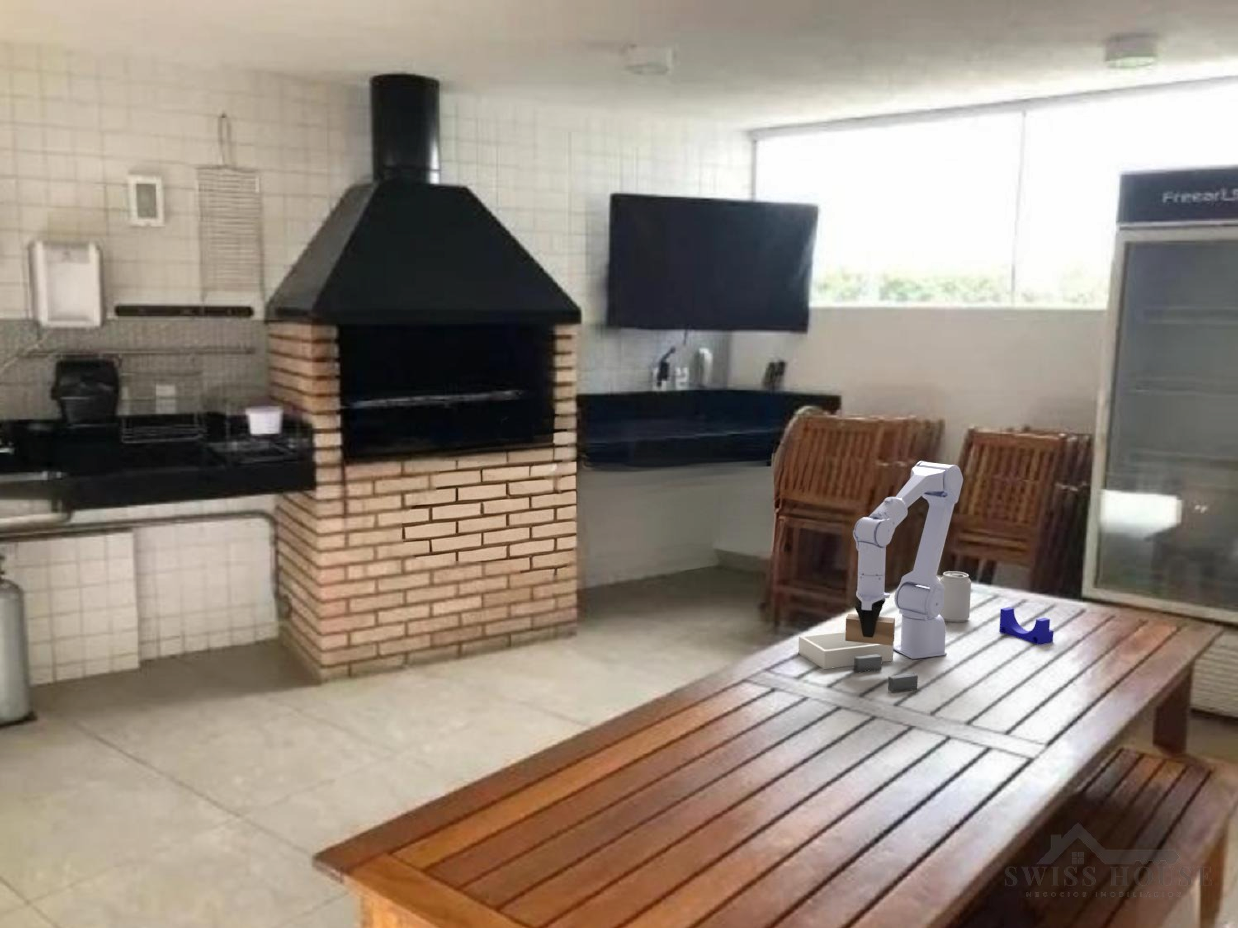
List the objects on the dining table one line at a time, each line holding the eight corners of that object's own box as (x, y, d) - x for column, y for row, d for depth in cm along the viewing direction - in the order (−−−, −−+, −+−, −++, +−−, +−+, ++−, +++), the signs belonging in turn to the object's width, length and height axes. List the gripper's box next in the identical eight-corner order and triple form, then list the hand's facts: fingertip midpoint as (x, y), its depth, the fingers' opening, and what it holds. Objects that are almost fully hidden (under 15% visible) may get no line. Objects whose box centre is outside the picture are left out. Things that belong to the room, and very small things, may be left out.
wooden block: (847, 635, 232) (848, 613, 231) (894, 640, 229) (895, 617, 228) (845, 640, 228) (845, 618, 228) (892, 645, 225) (893, 623, 224)
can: (973, 623, 264) (975, 577, 262) (943, 623, 264) (945, 576, 263) (964, 614, 271) (966, 569, 270) (935, 614, 272) (937, 569, 270)
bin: (864, 645, 247) (865, 628, 246) (893, 660, 236) (893, 643, 235) (798, 652, 241) (798, 636, 240) (824, 668, 230) (824, 651, 230)
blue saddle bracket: (1052, 642, 249) (1054, 618, 248) (1039, 645, 247) (1041, 621, 246) (1012, 629, 259) (1013, 606, 259) (999, 632, 257) (1000, 608, 256)
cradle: (877, 666, 231) (878, 653, 231) (917, 689, 217) (917, 675, 217) (853, 669, 229) (854, 656, 229) (892, 692, 216) (892, 678, 215)
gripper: (886, 582, 218) (884, 645, 220) (893, 566, 232) (891, 626, 234) (852, 579, 221) (850, 641, 223) (861, 564, 234) (859, 622, 236)
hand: (869, 633), depth 228 cm, fingers closed on wooden block, 4 cm apart
